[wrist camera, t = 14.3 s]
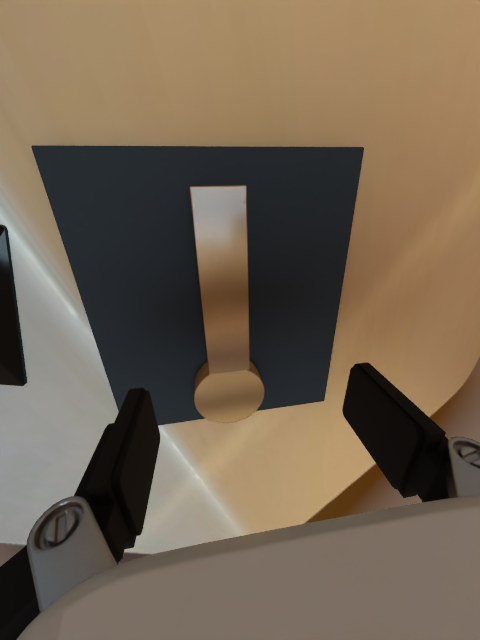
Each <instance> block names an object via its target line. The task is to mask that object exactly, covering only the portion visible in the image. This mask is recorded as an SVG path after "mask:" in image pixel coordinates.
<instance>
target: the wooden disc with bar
mask: <svg viewBox="0 0 480 640" xmlns="http://www.w3.org/2000/svg"><path fill="white" fill-rule="evenodd" d="M190 196H191V206H192V215H193V225H194V234H195V244H196V253H197V263H198V272H199V281H200V291H201V300H202V310H203V319H204V329H205V338H206V348H207V357H208V362H206V363H205V364H204V365H203V366H202V367H201V368H200V369H199V371H198V372H197V375H196V377H195V383H194V403H195V406H196V409H197V410H198V412H199V413H200V414H201V415H202V416H203V417H205V418H206V419H208V420H210V421H213V422H217V423H233V422H237V421H240V420H243V419H245V418H247V417H249V416H250V415H252V414H253V413H254V412H255V411H256V410H257V409H258V408H259V406H260V405H261V403H262V401H263V398H264V386H263V383H262V380H261V377H260V375H259V372H258V370H257V368H256V366H255V365H254V364H253V363H252V362H251V361H250V360H249V306H248V247H247V189H246V185H230V186H190Z"/></svg>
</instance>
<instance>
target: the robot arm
mask: <svg viewBox="0 0 480 640" xmlns="http://www.w3.org/2000/svg"><path fill="white" fill-rule="evenodd" d="M343 415H344V417H345V419H346V420H347V422H348V423H349V424H350V426H351V427H352V429H353V430H354V432H355V433H356V435H357V436H358V437H359V439H360V440H361V442H362V443H363V445H364V446H365V448H366V449H367V451H368V452H369V453H370V455H371V456H372V458H373V459H374V461H375V462H376V464H377V465H378V466H379V468H380V469H381V471H382V472H383V474H384V475H385V477H386V478H387V480H388V481H389V482H390V484H391V485H392V487H394V488H395V489H398V491H399V492H400V494H401V495H402V496H403V498H406V497H411V496H416V495H418V496H419V497H420V499H421V500H422V503H417V504H411V505H405V506H400V507H394V508H389V509H383V510H378V511H372V512H367V513H361V514H356V515H351V516H345V517H339V518H334V519H329V520H323V521H318V522H313V523H307V524H302V525H297V526H291V527H286V528H281V529H275V530H270V531H265V532H260V533H255V534H250V535H244V536H239V537H234V538H229V539H224V540H219V541H213V542H208V543H203V544H198V545H194V546H189V547H184V548H180V549H175V550H170V551H166V552H161V553H156V554H152V555H149V556H145V557H141V558H138V559H134V560H130V561H127V562H124V563H122V564H119V563H118V562H119V561H120V560H121V559H122V557H123V553H124V549H128V548H133V547H134V544H135V540H136V536H137V535H140V534H141V533H142V529H143V525H144V520H145V514H146V509H147V504H148V499H149V494H150V489H151V484H152V479H153V474H154V469H155V464H156V459H157V454H158V449H159V444H160V433H159V429H158V424H157V420H156V416H155V412H154V408H153V404H152V400H151V396H150V392H149V390H147V391H145V389H144V388H134V389H129V391H128V393H127V395H126V397H125V399H124V402H123V404H122V406H121V409H120V411H119V413H118V416H117V418H116V420H115V422H114V423H112V424H109V425H107V427H106V428H105V430H104V433H103V435H102V437H101V439H100V441H99V443H98V445H97V448H96V450H95V452H94V454H93V456H92V458H91V460H90V463H89V465H88V467H87V469H86V471H85V473H84V476H83V478H82V480H81V482H80V484H79V486H78V488H77V491H76V493H75V495H74V496H71V497H68V498H65V499H62V500H61V501H59V502H57V503H56V504H54V505H52V506H51V507H50V508H49V509H48V510H47V511H45V512H44V513H43V514H42V516H41V517H40V518H39V519H38V520H37V521H36V523H35V524H34V526H33V528H32V529H31V531H30V534H29V537H28V539H27V545H26V546H25V547H24V548H23V549H22V550H21V551H19V552H18V553H17V554H16V555H14V556H13V557H12V558H11V559H9V560H8V561H7V562H6V563H5V564H3V565H2V566H1V567H0V640H480V443H479V442H477V441H474V440H472V439H469V438H465V437H452V438H450V439H449V440H448V439H447V438H446V437H445V431H443V430H442V429H441V428H440V427H439V426H438V425H437V424H436V423H435V422H434V421H432V420H431V419H430V418H429V417H428V416H427V415H426V414H425V413H424V412H422V411H421V410H420V409H419V408H418V407H417V406H416V405H415V404H414V403H413V402H411V401H410V400H409V399H408V398H407V397H406V396H405V395H404V394H403V393H402V392H400V391H399V390H398V389H397V388H396V387H395V386H394V385H393V384H392V383H390V382H389V381H388V380H387V379H386V378H385V377H384V376H383V375H382V374H381V373H379V372H378V371H377V370H376V369H375V368H374V367H373V366H372V365H371V364H369V363H359V364H355V365H354V366H353V367H352V368H351V370H350V375H349V380H348V385H347V390H346V394H345V399H344V404H343Z"/></svg>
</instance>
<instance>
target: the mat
mask: <svg viewBox="0 0 480 640" xmlns="http://www.w3.org/2000/svg"><path fill="white" fill-rule="evenodd" d="M32 150H33V153H34V156H35V159H36V162H37V165H38V168H39V171H40V174H41V177H42V180H43V183H44V186H45V189H46V192H47V196H48V199H49V202H50V205H51V208H52V211H53V214H54V217H55V220H56V223H57V226H58V229H59V232H60V235H61V238H62V241H63V244H64V247H65V250H66V253H67V256H68V259H69V262H70V265H71V268H72V271H73V274H74V277H75V280H76V283H77V286H78V289H79V292H80V295H81V299H82V302H83V305H84V308H85V311H86V314H87V317H88V320H89V323H90V326H91V329H92V332H93V335H94V338H95V341H96V344H97V347H98V350H99V353H100V356H101V359H102V362H103V365H104V368H105V371H106V374H107V377H108V380H109V383H110V386H111V389H112V392H113V395H114V398H115V402H116V405H117V408H118V411H120V409H121V406H122V404H123V402H124V399H125V397H126V395H127V393H128V391H129V389H134V388H144V389H145V391H147V390H149V392H150V396H151V400H152V404H153V408H154V412H155V416H156V420H157V424H158V425H164V424H170V423H177V422H184V421H191V420H198V419H204V418H205V417H203V416H202V415H201V414H200V413H199V412H198V410H197V409H196V406H195V403H194V383H195V377H196V375H197V372H198V371H199V369H200V368H201V367H202V366H203V365H204V364H205V363H206V362H208V357H207V348H206V338H205V329H204V319H203V310H202V300H201V291H200V281H199V272H198V263H197V253H196V244H195V234H194V225H193V215H192V206H191V196H190V186H230V185H246V189H247V247H248V306H249V360H250V361H251V362H252V363H253V364H254V365H255V366H256V368H257V370H258V372H259V375H260V377H261V380H262V383H263V386H264V398H263V401H262V403H261V405H260V406H259V408H258V409H257V410H256V411H259V410H265V409H272V408H279V407H286V406H292V405H299V404H306V403H313V402H320V401H324V398H325V392H326V386H327V379H328V373H329V367H330V360H331V354H332V348H333V341H334V335H335V329H336V322H337V316H338V310H339V303H340V297H341V291H342V284H343V278H344V272H345V265H346V259H347V253H348V246H349V240H350V234H351V227H352V221H353V215H354V208H355V202H356V196H357V189H358V183H359V177H360V170H361V164H362V158H363V151H364V148H363V147H197V146H32Z"/></svg>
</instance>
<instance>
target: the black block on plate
mask: <svg viewBox="0 0 480 640" xmlns="http://www.w3.org/2000/svg"><path fill="white" fill-rule="evenodd" d="M26 383H27V377H26V370H25V362H24V354H23V346H22V339H21V331H20V323H19V315H18V307H17V300H16V292H15V284H14V276H13V268H12V261H11V253H10V245H9V237H8V230H7V228H6V227H5V226H4V225H0V384H2V385H16V386H24V385H25V384H26Z"/></svg>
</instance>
